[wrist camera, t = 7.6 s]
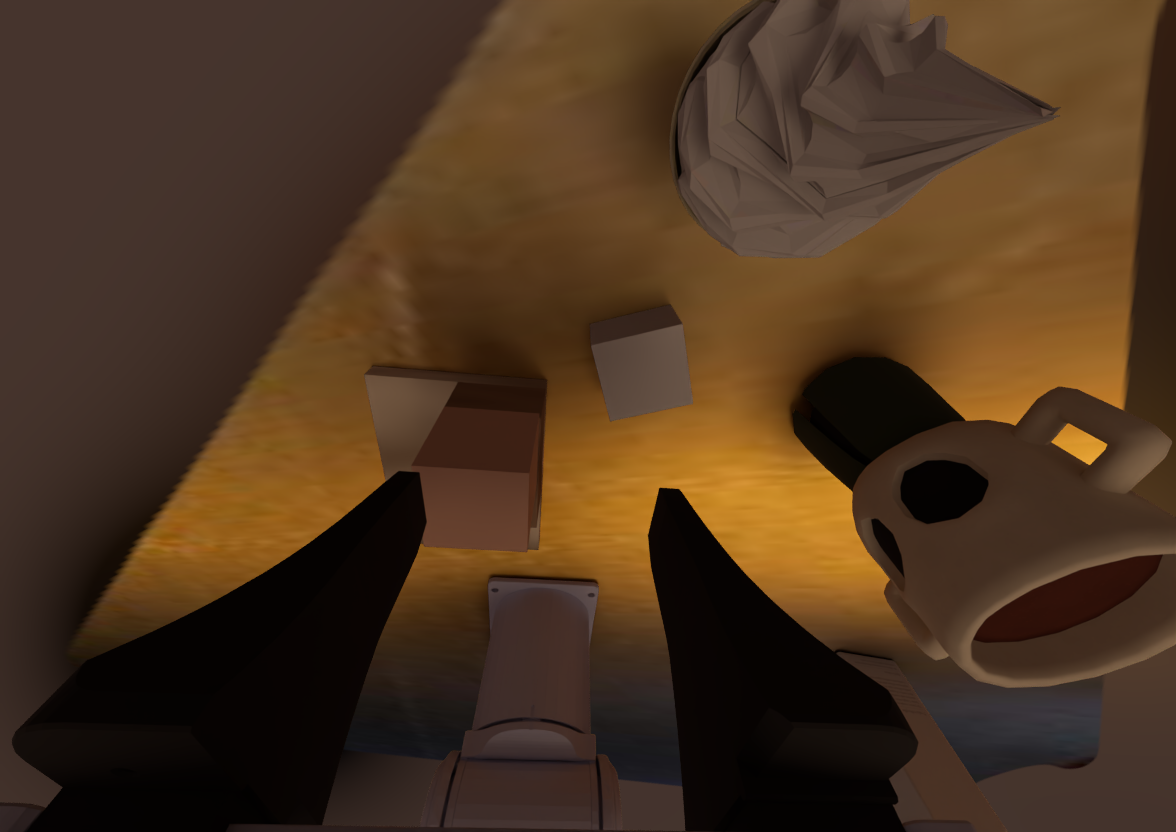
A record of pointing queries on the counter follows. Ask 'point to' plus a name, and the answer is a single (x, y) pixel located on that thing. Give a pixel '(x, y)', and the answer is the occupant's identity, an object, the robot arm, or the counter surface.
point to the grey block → (642, 362)
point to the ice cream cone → (827, 121)
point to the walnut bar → (506, 401)
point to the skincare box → (928, 760)
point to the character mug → (1002, 524)
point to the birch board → (422, 413)
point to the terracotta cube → (479, 479)
